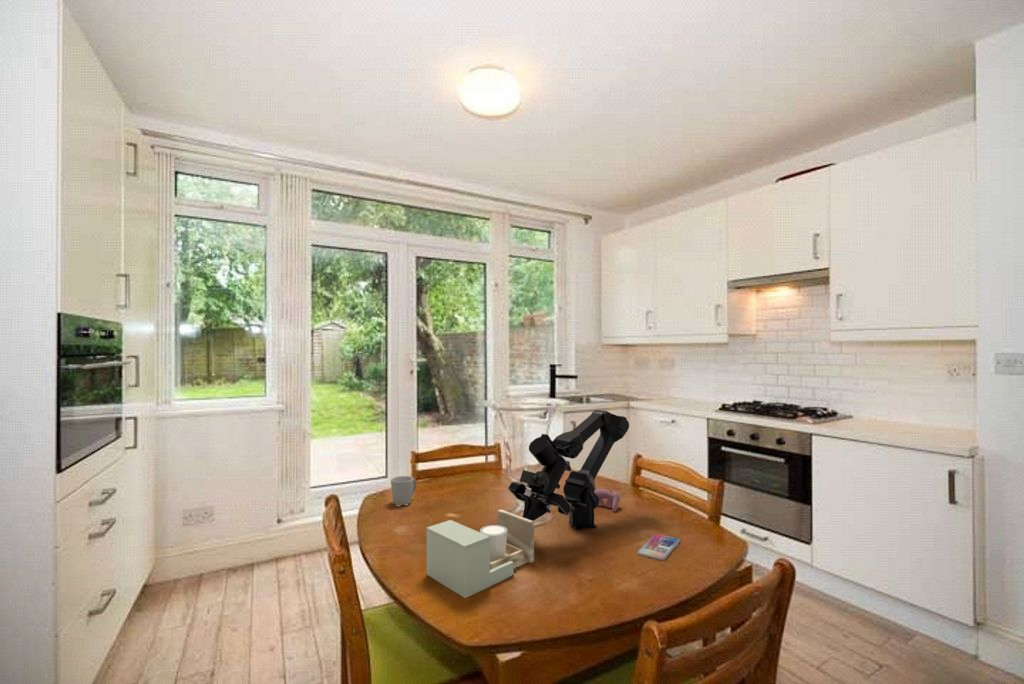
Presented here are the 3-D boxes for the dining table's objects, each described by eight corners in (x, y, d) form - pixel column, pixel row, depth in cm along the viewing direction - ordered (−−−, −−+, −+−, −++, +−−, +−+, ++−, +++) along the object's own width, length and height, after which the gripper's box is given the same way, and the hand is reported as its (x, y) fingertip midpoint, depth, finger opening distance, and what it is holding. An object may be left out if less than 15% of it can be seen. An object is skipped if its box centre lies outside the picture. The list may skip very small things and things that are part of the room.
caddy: (474, 555, 119) (473, 512, 119) (513, 575, 109) (513, 527, 109) (426, 574, 109) (426, 527, 109) (465, 598, 99) (464, 546, 99)
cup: (386, 504, 159) (386, 479, 159) (408, 496, 167) (408, 473, 167) (401, 509, 154) (401, 483, 154) (423, 500, 162) (423, 476, 163)
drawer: (501, 547, 124) (501, 509, 124) (534, 561, 115) (533, 521, 115) (461, 563, 115) (460, 522, 115) (493, 580, 106) (493, 536, 106)
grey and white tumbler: (510, 553, 117) (510, 525, 117) (504, 566, 110) (503, 536, 110) (484, 551, 118) (484, 523, 118) (476, 563, 111) (476, 534, 112)
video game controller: (619, 514, 152) (622, 492, 155) (615, 511, 149) (618, 489, 151) (590, 509, 157) (594, 488, 160) (586, 506, 154) (589, 485, 156)
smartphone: (635, 552, 119) (654, 533, 131) (635, 556, 119) (654, 536, 131) (664, 559, 115) (681, 538, 127) (664, 563, 115) (681, 542, 127)
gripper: (512, 452, 132) (483, 500, 124) (563, 464, 119) (533, 518, 111) (532, 475, 137) (505, 522, 130) (582, 488, 124) (555, 542, 116)
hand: (523, 525), depth 121 cm, fingers closed
